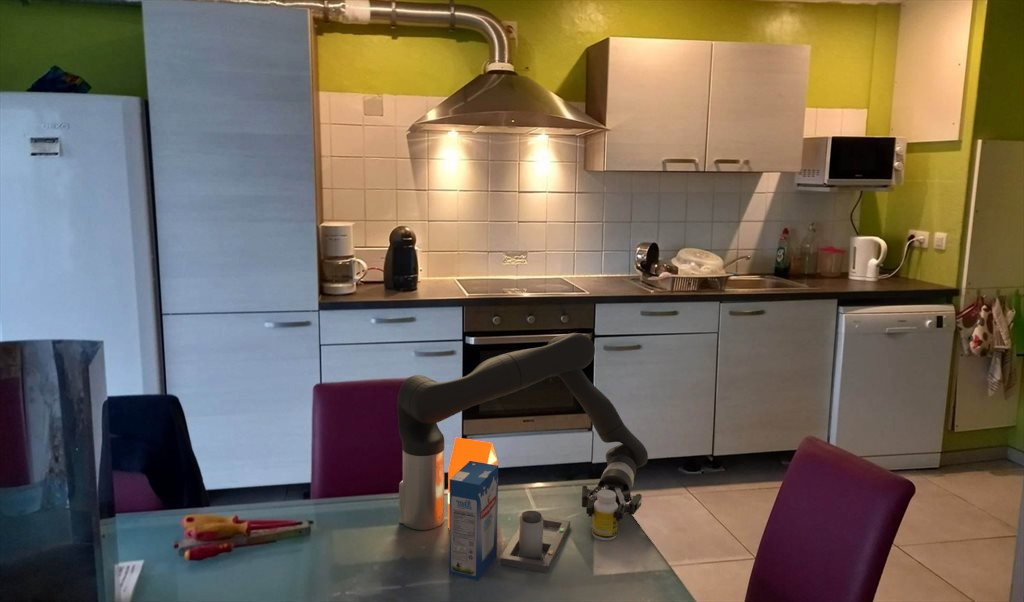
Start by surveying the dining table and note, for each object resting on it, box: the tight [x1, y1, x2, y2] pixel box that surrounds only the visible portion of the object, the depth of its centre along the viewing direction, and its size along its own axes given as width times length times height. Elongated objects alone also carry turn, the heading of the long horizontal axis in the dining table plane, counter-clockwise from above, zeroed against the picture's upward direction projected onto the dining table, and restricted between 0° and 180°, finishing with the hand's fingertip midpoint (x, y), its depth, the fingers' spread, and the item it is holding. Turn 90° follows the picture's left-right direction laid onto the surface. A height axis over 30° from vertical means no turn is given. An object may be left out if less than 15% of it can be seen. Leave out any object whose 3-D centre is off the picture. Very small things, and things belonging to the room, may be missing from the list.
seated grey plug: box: [518, 510, 544, 561], centre depth 154 cm, size 5×5×9 cm
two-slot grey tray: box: [499, 515, 571, 574], centre depth 159 cm, size 10×20×2 cm, turn 163°
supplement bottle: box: [591, 490, 619, 541], centre depth 163 cm, size 5×5×10 cm
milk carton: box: [448, 461, 499, 582], centre depth 149 cm, size 10×6×20 cm, turn 160°
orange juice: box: [447, 437, 498, 529], centre depth 166 cm, size 8×9×20 cm
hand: (604, 514), depth 161 cm, fingers closed on supplement bottle, 5 cm apart
